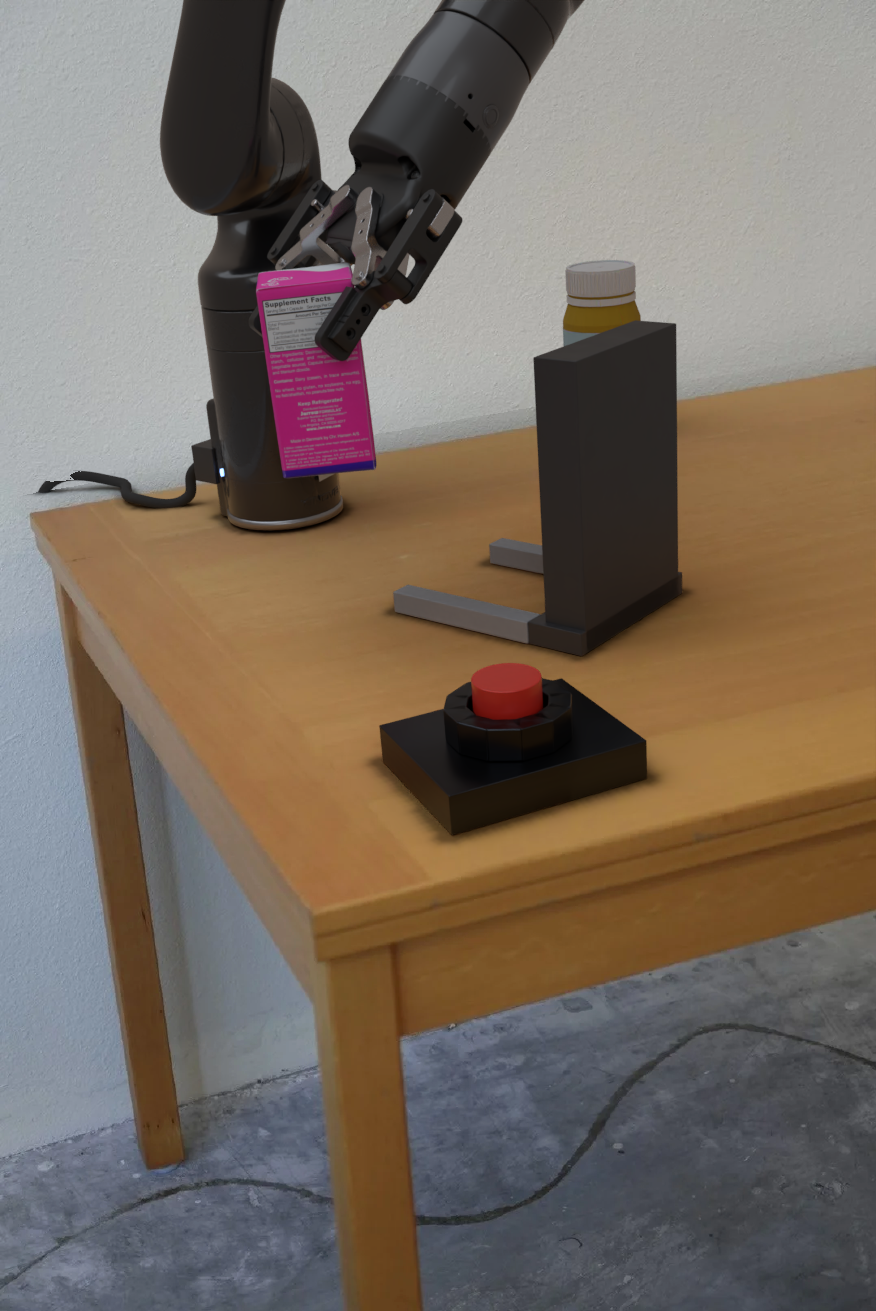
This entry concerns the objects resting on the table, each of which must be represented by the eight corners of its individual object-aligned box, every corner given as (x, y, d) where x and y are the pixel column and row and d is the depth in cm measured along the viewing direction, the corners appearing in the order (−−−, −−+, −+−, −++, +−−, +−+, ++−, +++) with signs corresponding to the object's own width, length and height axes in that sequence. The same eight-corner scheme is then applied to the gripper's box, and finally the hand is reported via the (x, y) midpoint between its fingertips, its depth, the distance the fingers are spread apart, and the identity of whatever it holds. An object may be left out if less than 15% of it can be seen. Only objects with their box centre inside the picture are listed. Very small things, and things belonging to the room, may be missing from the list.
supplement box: (280, 454, 93) (257, 269, 89) (373, 445, 93) (355, 260, 89) (278, 480, 88) (254, 285, 83) (377, 470, 88) (358, 275, 83)
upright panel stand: (394, 612, 99) (370, 343, 92) (503, 556, 107) (488, 307, 100) (580, 657, 90) (570, 363, 83) (683, 592, 98) (681, 321, 91)
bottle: (641, 419, 139) (639, 257, 133) (643, 439, 133) (640, 270, 127) (567, 422, 140) (561, 261, 134) (565, 442, 134) (559, 274, 128)
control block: (452, 835, 72) (446, 762, 70) (382, 761, 79) (375, 694, 78) (647, 778, 75) (646, 708, 74) (563, 713, 83) (560, 648, 81)
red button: (491, 729, 74) (489, 698, 73) (461, 703, 77) (459, 672, 76) (555, 712, 75) (554, 681, 74) (523, 687, 78) (521, 657, 77)
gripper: (336, 72, 91) (193, 293, 90) (469, 68, 80) (308, 320, 79) (415, 152, 96) (280, 363, 95) (551, 159, 85) (400, 397, 84)
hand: (293, 343), depth 87 cm, fingers closed on supplement box, 7 cm apart
